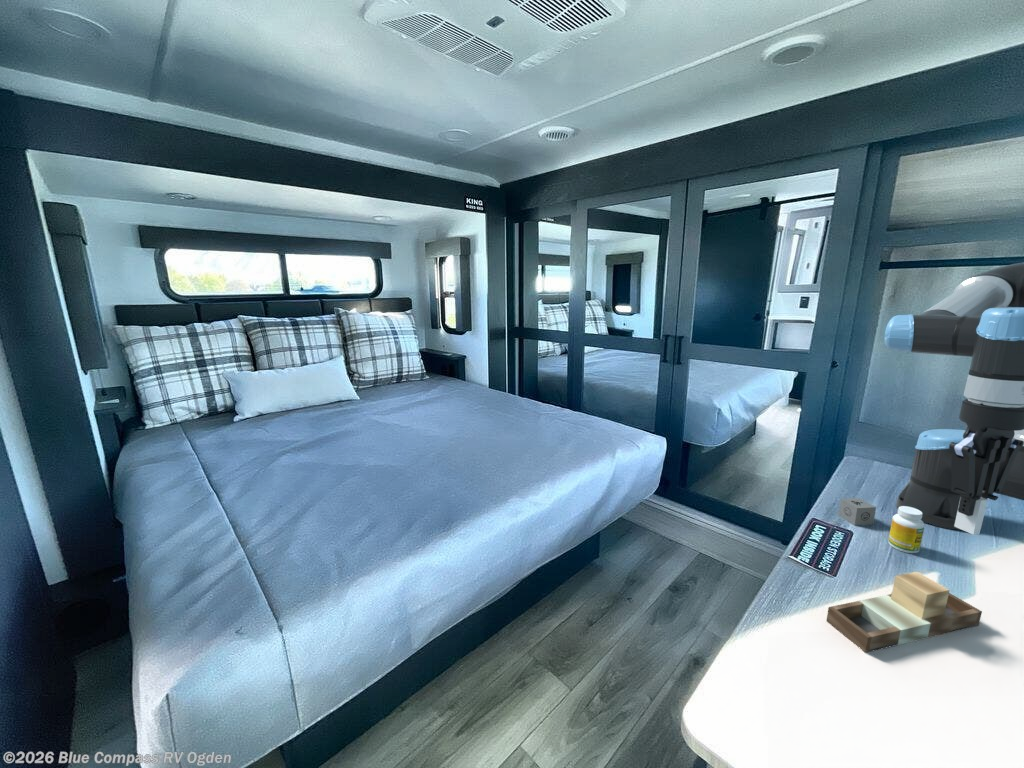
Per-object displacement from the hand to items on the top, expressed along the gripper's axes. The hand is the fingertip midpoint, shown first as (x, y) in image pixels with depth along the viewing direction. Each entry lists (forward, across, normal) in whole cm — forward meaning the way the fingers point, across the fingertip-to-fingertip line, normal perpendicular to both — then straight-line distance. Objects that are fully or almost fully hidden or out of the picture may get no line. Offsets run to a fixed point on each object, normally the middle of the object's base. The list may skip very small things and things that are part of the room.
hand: (966, 529), depth 72 cm
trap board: (+18, -10, 0) cm, 20 cm away
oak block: (+15, -8, 0) cm, 16 cm away
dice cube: (+18, +15, +30) cm, 38 cm away
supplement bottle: (+18, +14, +18) cm, 29 cm away
